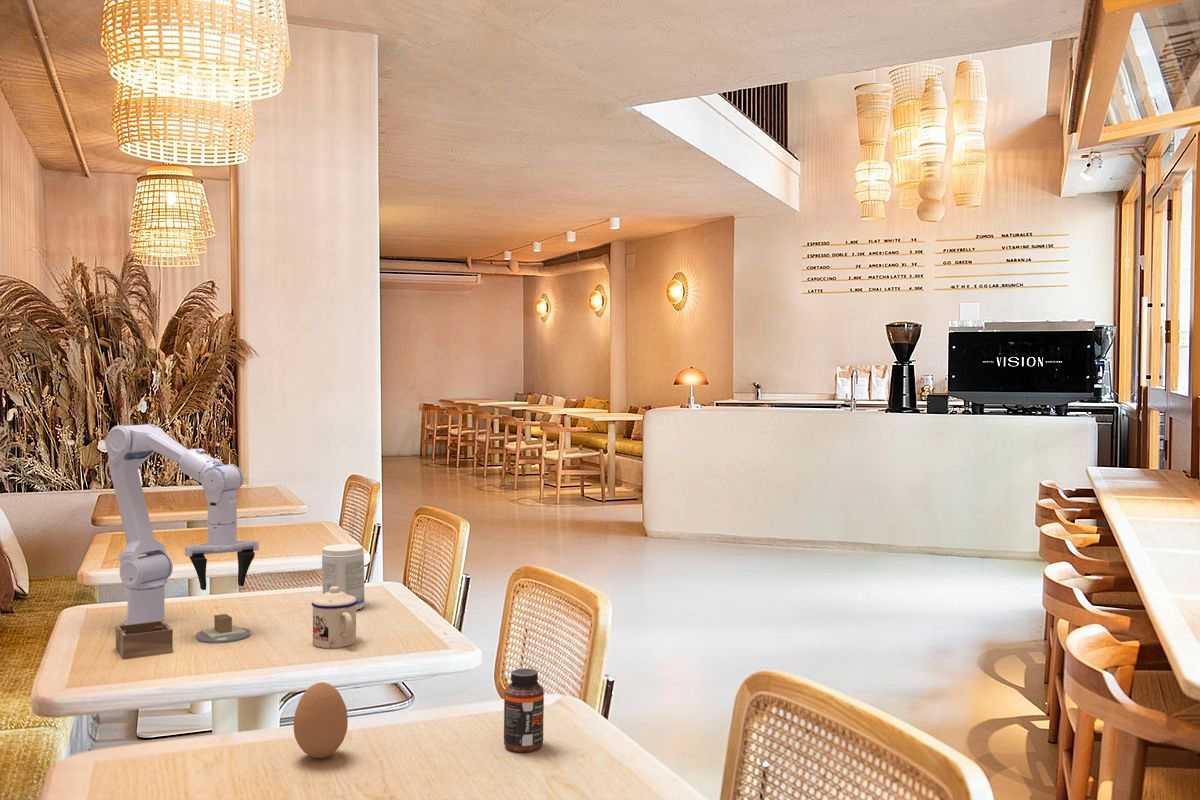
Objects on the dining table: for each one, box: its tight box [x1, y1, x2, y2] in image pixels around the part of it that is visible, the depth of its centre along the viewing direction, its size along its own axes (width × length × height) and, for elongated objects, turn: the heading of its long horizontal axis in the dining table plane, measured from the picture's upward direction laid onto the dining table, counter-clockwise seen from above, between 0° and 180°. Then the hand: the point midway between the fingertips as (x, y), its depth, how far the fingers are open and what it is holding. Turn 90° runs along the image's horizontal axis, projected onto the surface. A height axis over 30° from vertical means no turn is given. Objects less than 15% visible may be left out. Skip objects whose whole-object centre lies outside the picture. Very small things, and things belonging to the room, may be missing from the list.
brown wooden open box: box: [115, 620, 174, 660], centre depth 204 cm, size 9×9×4 cm
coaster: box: [194, 626, 252, 644], centre depth 216 cm, size 11×11×1 cm
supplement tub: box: [321, 543, 365, 611], centre depth 241 cm, size 10×10×15 cm
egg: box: [293, 681, 349, 760], centre depth 149 cm, size 8×8×11 cm
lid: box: [200, 613, 246, 639], centre depth 216 cm, size 7×7×4 cm
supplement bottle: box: [503, 668, 545, 753], centre depth 154 cm, size 6×6×11 cm
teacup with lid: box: [311, 586, 357, 649], centre depth 210 cm, size 12×9×12 cm
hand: (222, 587), depth 215 cm, fingers open, 7 cm apart
